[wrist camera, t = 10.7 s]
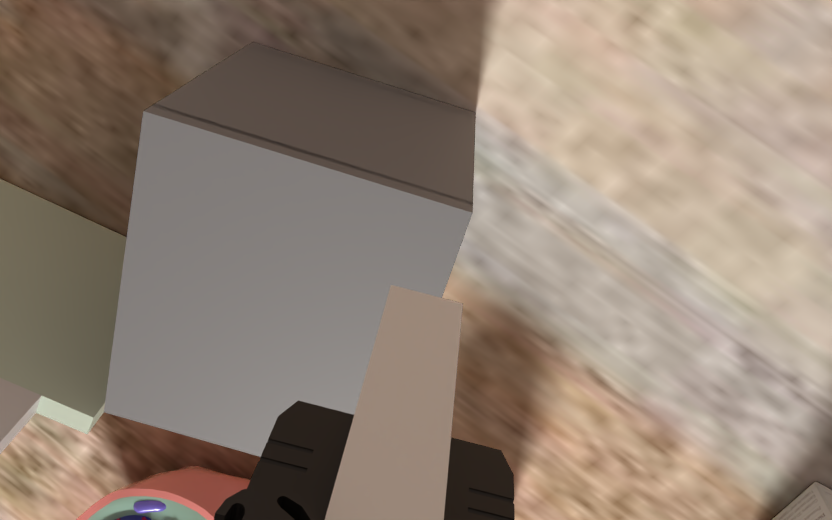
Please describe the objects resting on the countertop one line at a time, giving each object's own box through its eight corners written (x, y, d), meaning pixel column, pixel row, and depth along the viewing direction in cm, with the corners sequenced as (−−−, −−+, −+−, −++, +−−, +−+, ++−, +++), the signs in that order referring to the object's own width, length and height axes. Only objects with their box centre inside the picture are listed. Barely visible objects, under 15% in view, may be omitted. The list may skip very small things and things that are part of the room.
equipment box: (475, 112, 45) (472, 212, 31) (402, 326, 52) (372, 488, 38) (252, 41, 44) (143, 110, 30) (209, 268, 52) (103, 412, 37)
